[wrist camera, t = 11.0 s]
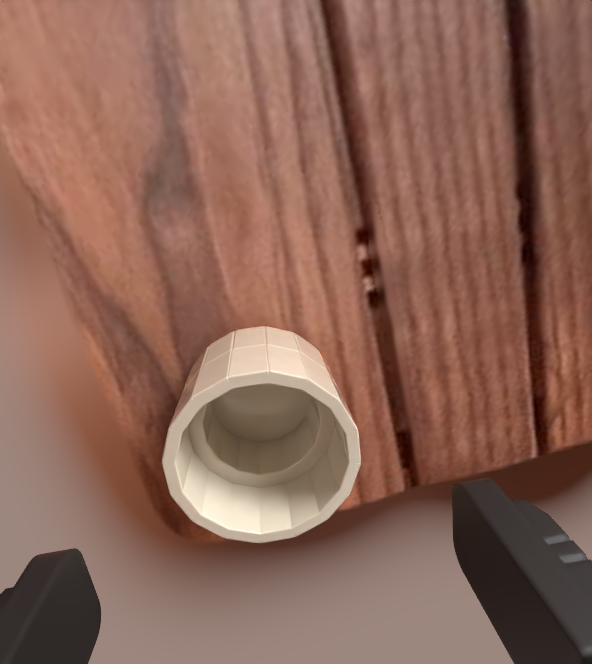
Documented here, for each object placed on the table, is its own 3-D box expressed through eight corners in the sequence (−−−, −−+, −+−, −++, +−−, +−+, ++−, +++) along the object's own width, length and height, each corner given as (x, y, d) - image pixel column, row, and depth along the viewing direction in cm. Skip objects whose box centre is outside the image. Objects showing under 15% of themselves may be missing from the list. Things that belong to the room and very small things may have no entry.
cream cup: (204, 462, 18) (186, 557, 13) (175, 335, 16) (141, 390, 11) (337, 440, 18) (367, 524, 13) (323, 312, 16) (351, 357, 12)
